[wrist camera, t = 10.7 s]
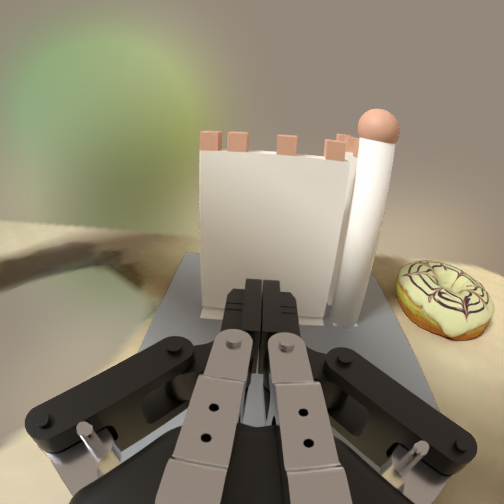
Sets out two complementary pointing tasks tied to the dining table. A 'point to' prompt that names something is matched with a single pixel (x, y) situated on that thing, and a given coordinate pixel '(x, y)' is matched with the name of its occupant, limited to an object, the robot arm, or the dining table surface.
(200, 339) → the card
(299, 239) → the white crenellated wall panel
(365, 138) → the fence post and fixed panel
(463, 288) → the decorated donut
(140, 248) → the dining table surface
